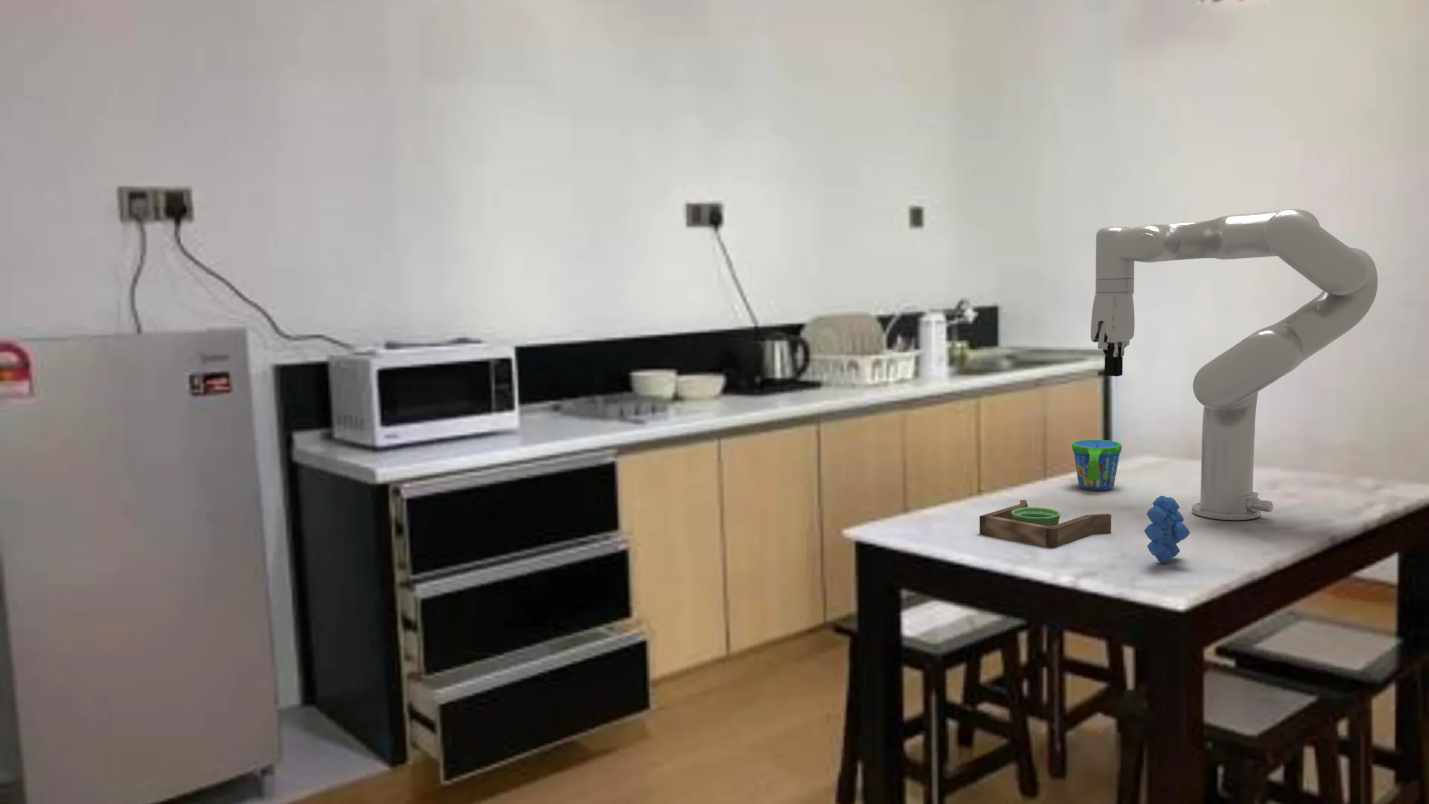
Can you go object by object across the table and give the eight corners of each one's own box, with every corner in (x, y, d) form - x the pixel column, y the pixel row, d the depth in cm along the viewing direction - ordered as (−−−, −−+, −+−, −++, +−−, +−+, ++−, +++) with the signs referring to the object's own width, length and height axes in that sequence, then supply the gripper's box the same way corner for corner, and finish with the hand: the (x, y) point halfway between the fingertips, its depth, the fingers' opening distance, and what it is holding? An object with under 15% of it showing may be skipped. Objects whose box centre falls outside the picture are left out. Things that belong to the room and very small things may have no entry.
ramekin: (1056, 542, 211) (1056, 519, 211) (1007, 538, 215) (1007, 515, 214) (1063, 530, 219) (1063, 508, 219) (1015, 527, 223) (1015, 505, 222)
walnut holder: (1112, 532, 216) (1113, 514, 216) (1062, 550, 205) (1063, 531, 205) (1022, 516, 231) (1022, 499, 231) (970, 532, 220) (970, 514, 220)
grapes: (1175, 575, 188) (1176, 504, 186) (1135, 568, 193) (1136, 498, 191) (1202, 559, 196) (1204, 491, 195) (1163, 553, 201) (1165, 486, 199)
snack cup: (1114, 496, 246) (1115, 450, 245) (1064, 493, 251) (1065, 447, 250) (1126, 482, 260) (1127, 438, 258) (1079, 479, 265) (1079, 436, 264)
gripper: (1116, 285, 243) (1115, 371, 245) (1078, 289, 233) (1077, 378, 235) (1149, 285, 237) (1148, 373, 240) (1112, 289, 227) (1111, 380, 230)
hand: (1113, 375), depth 237 cm, fingers closed
